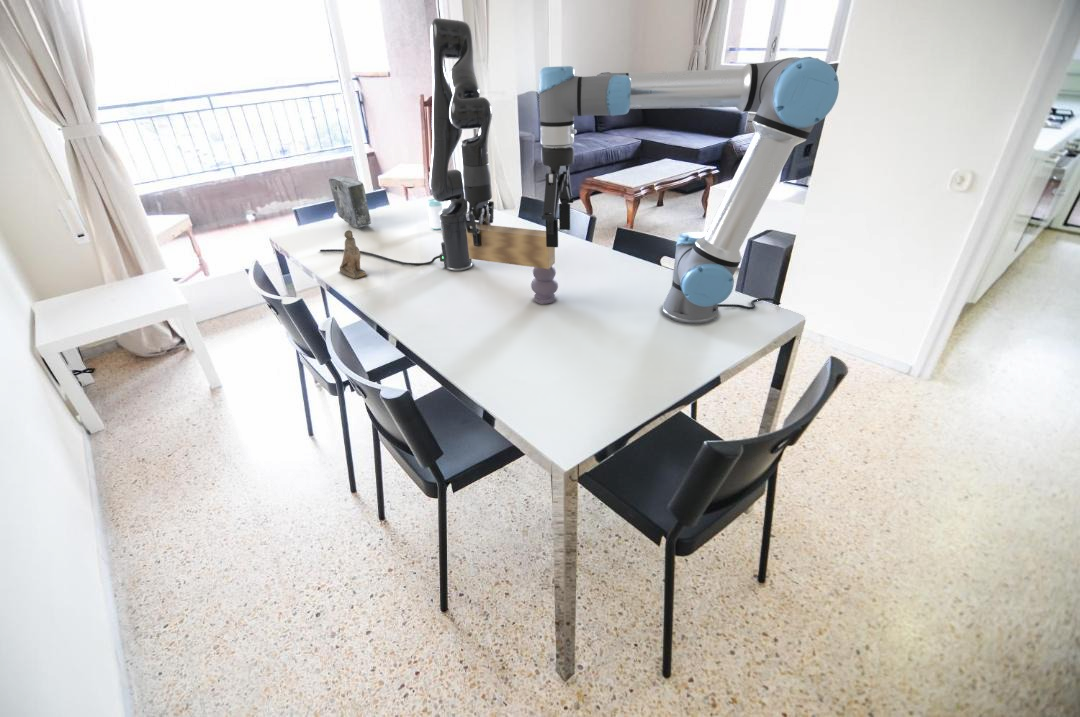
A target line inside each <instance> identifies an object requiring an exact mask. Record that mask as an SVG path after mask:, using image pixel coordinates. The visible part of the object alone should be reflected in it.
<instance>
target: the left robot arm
mask: <svg viewBox="0 0 1080 717" xmlns="http://www.w3.org/2000/svg"><path fill="white" fill-rule="evenodd" d="M430 52H431V73H432V103H431V104H432V105H431V106H432V107H431V111H432V112H431V130H432V131H431V132H432V143H431V144H432V148H431V162H430V174H429V189H430V193H431V195H432V197H433V199H435V200H436V201H438V202H443V203H444V202H445V203H446V202H448V203H447V205H446V206H444V209H443V210H442V211H441V212H440V223H441V229H440V230H441V235H442V242H441V243H440V246H441V250H442V251H441V253H440V254H439V255H436V256H434V257H433V258H432V259H431V260H430V261H427V262H406V261H405V262H404V261H400V260H397V259H393V258H389V257H386V256H383V255H379V254H376V253H372V252H368V251H364V250H359V251H360V254H363V255H366V256H367V255H368V256H372V257H375V258H378V259H381V260H386V261H389V262H392V263H396V264H400V265H403V266H404V265H405V266H426V265H431V264H433V263H434V262H435V261H436V260H437V259H439V262H443V267H444V269H445V270H449V271H454V272H459V271H467V270H469V269H471V268H472V266H473V259H469V251H468V242H467V232H468V233H472V234H473V244H474V246H477V247H480V246H481V245H482V244H481V233H480V230H481V225H482V224H483V225H492V224H493V223H494V213H495V212H494V211H495V210H494V208H495V202H494V201H491V199H492V198H493V194H492V180H491V170H490V165H489V151H488V146H489V145H488V143H489V133H490V129H491V123H492V117H493V108H492V104H491V102H490V101H489V100H488V99H487V98H486V97H482V96H481V95H480V94H481V93H480V92H481V91H480V88H479V84H478V80H477V76H476V69H475V54H474V53H475V52H474V41H473V33H472V29H471V27H470V25H469V24H468V23H467V22H465V21H463V20H457V19H448V18H440V17H438V18H437V17H436V18H433V19H432V22H431V25H430ZM445 59H449V60H457V61H456V62H455V63H454V64H453V66H452V67H451V70H450V72H449V77H448V75H447V72H446V69H445V64H444V60H445ZM477 129H478V131H477V133H476V134H475V135H474V136H472V137H468V138H466V139H463V140H462V141H461V142H460V144H459V150H460V159H461V171H460V170H459V169H449V165H450V160H451V157H452V156H453V153H454V151H455V149H456V147H457V146H458V143H459V141H460V139H461V137H462V134H463V130H477ZM476 225H477V228H476ZM470 226H471V228H470ZM466 228H467V232H466ZM344 249H345V248H344ZM344 249H341V248H338V249H337V248H334V249H332V248H331V249H329V248H328V249H319V252H320V253H325V252H326V253H327V252H328V253H329V252H340V253H341V252H342V253H344Z"/></svg>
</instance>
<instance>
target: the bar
mask: <svg viewBox="0 0 1080 717" xmlns="http://www.w3.org/2000/svg"><path fill="white" fill-rule="evenodd" d="M470 228H471V226H470ZM476 228H477V225H476ZM466 232H467V228H466ZM480 233H481V244H482V245H481V246H480V247H477V246H474V244H473V234H472V233H468V232H467V242H468V251H469V259H472V260H475V261H484V262H492V263H500V264H506V265H515V266H522V267H530V268H534V267H537V268H545V269H549V268H550V267H551V266H552V265H553V266H554V265H555V263H556V247H546V230H541V229H532V228H522V227H521V228H520V227H513V226H512V227H511V226H502V225H492V224H491V225H483V224H482V225H481V230H480Z"/></svg>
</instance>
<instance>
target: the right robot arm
mask: <svg viewBox="0 0 1080 717" xmlns="http://www.w3.org/2000/svg"><path fill="white" fill-rule="evenodd" d="M538 82H539V88H538V89H539V90H538V99H539V101H538V102H539V124H540V125H539V129H540V133H539V134H540V144H541V145H542V146H541V148H540V160H541V164H542V166H545V167H549V173H548V172H547V173H545V185H544V187H545V188H544V197H543V210H542V215H541V220H542V221H545V231H546V247H555V248H558V247H559V230H561V231H571V204H573V203H574V198H573V192H572V183H571V175H570V174H571V173H570V166H571V165H573V164H574V163H575V147H574V146H573V144H574V143H575V135H576V134H577V129H576V128H575V117H581V116H611V117H615V116H623V115H627V114H628V113H629V112H630V110H638V109H639V110H642V109H643V110H645V109H648V110H649V109H694V108H695V109H701V108H703V109H704V108H706V109H707V108H711V109H712V108H736V109H737V110H738V111H739V112H740V113H745V112H747V113H755V115H754V116H753V119H752V121H751V124H752V126H753V130H754V133H753V136H752V138H751V140H750V142H749V144H748V146H747V148H746V150H745V151H744V152H745V153H744V154H743V156H742V159H741V161H740V163H739V164H738V166H737V169H736V171H735V173H734V176H733V177H732V179H731V181H730V184H729V185H728V188H727V190H726V191H725V194H724V196H723V198H722V200H721V202H720V205H719V207H717V210H716V212H715V215H714V217H713V219H712V221H711V223H710V225H709V227H708V229H707V230H706V232H705V231H689V232H688V231H687V232H683V233H681V234H679V235H678V237H677V240H676V244H675V254H674V264H673V271H672V279H671V280H672V282H671V283H672V284H671V287H670V289H669V291H668V292H667V295H666V297H665V299H664V301H663V305H662V313H663V315H664V316H665V317H666V318H668V319H669V320H672V321H673V322H677V323H681V324H687V325H703V324H709V323H711V322H713V321H715V320H716V319H717V317H718V315H719V314H718V313H719V308H741V309H745V310H754V309H755V308H756V303H758V302H763V301H770V302H773V303H776V304H777V305H781V304H782V303H781V302H780V301H779V300H777V299H775V298H772V297H761V298H755V299H752V300H751V301H750V305H751V306H748V305H744V304H737V303H723V302H724V301H726V300H727V299H728V298H729V297H730V296H731V294H732V292H733V290H734V285H735V284H734V283H735V278H734V275H735V273H736V271H737V269H738V268H739V265H740V264H741V262H742V260H743V258H742V255H741V251H740V250H741V248H742V246H743V245H744V242H745V241H746V238H747V237H748V234H749V233H750V231H751V229H752V228H753V225H754V223H755V221H756V219H757V217H758V215H759V214H760V212H761V210H762V208H763V206H764V204H765V202H766V200H767V199H768V197H769V195H770V193H771V192H772V189H773V188H774V186H775V184H776V182H777V180H778V178H779V177H780V174H781V173H782V170H783V169H784V167H785V165H786V163H787V161H788V160H789V157H790V155H791V154H792V151H793V150H794V148H795V147H796V146H798V145H799V144H802V143H804V142H806V141H807V139H808V138H809V136H810V134H811V133H812V130H813V128H814V126H816V124H818V123H819V122H821V121H823V119H825V118H826V117H827V116H828V115H829V113H830V112H831V111H832V109H833V108H834V106H835V104H836V102H837V99H838V96H839V91H840V81H839V78H838V75H837V72H836V71H835V68H833V66H832V65H830V64H829V63H828V62H826V61H825V60H822V59H819V58H818V57H812V56H804V57H796V56H795V57H786V58H785V57H784V58H782V59H776V60H772V61H771V60H770V61H765V62H757V63H746V64H745V65H744V66H743V67H742V68H736V69H735V68H734V69H732V68H731V69H700V70H699V69H698V70H672V71H671V70H669V71H668V70H667V71H644V72H643V71H638V72H637V71H634V72H633V71H632V72H609V71H607V72H600V73H599V74H597V75H591V76H579V75H576V73H575V68H574V67H573V66H571V65H561V66H560V65H559V66H556V65H555V66H545V67H542V68H541V70H540V71H539V81H538ZM574 128H575V129H574ZM558 213H559V214H558ZM757 300H758V301H757Z"/></svg>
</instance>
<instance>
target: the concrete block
mask: <svg viewBox="0 0 1080 717" xmlns="http://www.w3.org/2000/svg"><path fill="white" fill-rule="evenodd" d="M328 183H329V188H330V191H331V195H332V198H333V202H334V206H335V209H336V212H337V215H338V217H339V218H341V219H342V220H344V221H345V222H346V224H347V223H348V224H349V225H350V226H351V227H353V228H358V229H359V228H362V227H365V226H369V225H371V224H372V220H371V214H370V210H369V205H368V199H367V194H366V190H365V185H364V183H363V182H362V181H360V180H358V179H357V178H354V177H351V176H347V175H339V176H334V177H333V176H332V177H330V178H329V179H328Z"/></svg>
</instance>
